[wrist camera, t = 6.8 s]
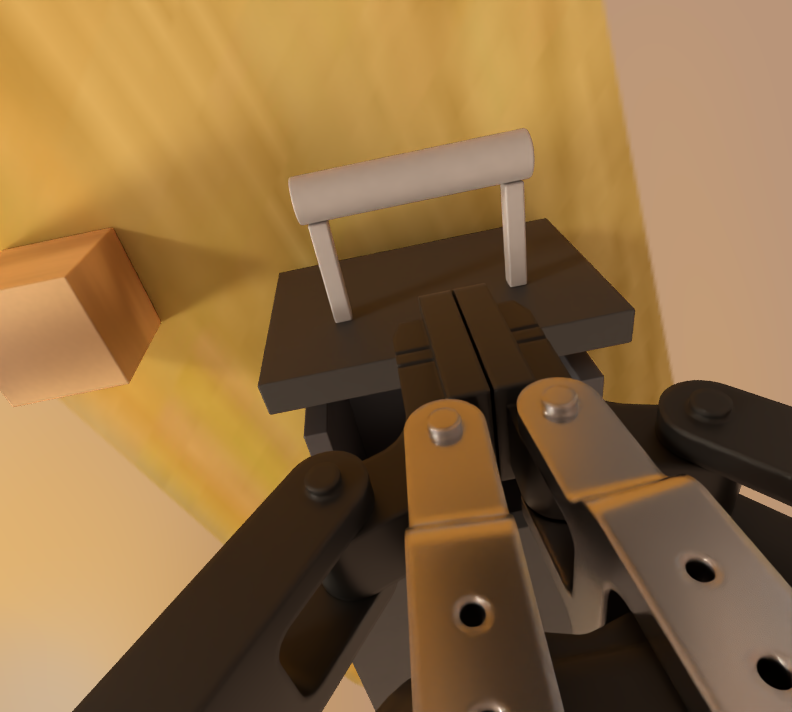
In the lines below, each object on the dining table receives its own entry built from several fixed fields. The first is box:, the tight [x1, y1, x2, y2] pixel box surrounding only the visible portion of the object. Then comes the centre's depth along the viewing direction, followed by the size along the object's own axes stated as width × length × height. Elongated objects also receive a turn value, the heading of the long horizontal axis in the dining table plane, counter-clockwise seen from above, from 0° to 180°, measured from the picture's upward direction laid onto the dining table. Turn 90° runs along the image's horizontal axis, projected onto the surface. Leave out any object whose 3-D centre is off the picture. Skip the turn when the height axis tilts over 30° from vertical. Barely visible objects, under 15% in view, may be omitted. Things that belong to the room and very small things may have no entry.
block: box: [0, 228, 161, 407], centre depth 20 cm, size 5×5×5 cm
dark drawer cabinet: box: [353, 510, 572, 711], centre depth 27 cm, size 15×13×10 cm
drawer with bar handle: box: [258, 128, 635, 513], centre depth 21 cm, size 18×11×8 cm, turn 10°
